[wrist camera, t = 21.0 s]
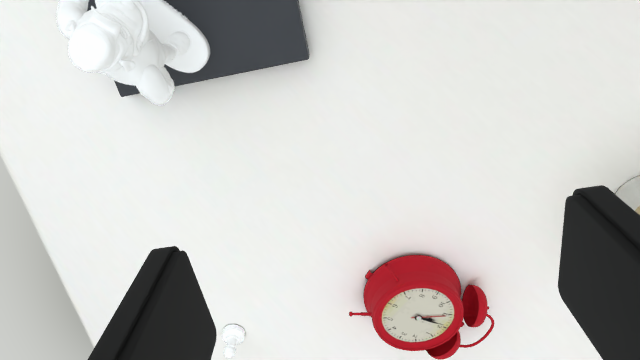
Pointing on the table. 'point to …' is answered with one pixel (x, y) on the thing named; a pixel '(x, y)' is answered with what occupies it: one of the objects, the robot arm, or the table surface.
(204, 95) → the table surface
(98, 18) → the figurine
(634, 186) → the coffee cup
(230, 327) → the chess pawn
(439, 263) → the alarm clock
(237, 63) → the scale
